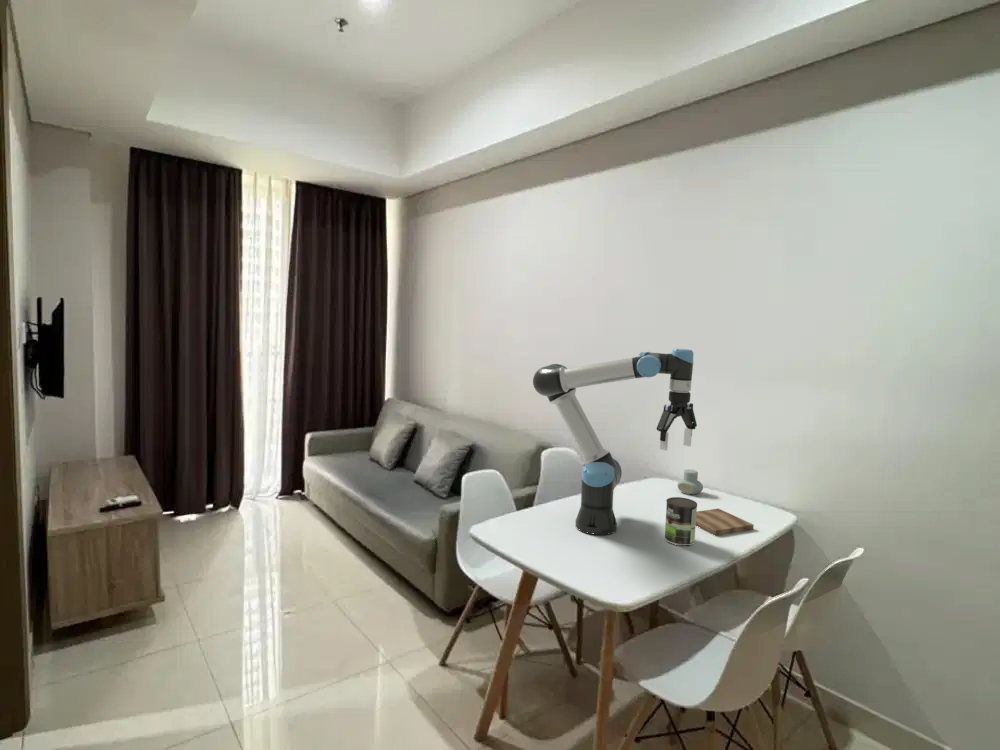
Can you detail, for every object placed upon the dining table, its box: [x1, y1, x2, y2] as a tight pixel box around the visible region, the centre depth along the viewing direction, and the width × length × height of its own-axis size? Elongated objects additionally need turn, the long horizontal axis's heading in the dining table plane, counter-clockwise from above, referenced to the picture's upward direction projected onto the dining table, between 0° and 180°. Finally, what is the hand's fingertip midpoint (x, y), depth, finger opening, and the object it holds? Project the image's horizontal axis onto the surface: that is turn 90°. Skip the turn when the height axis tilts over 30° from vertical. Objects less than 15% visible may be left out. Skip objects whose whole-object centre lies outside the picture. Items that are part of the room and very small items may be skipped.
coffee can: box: [664, 496, 698, 546], centre depth 192 cm, size 10×10×14 cm
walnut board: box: [695, 508, 754, 537], centre depth 209 cm, size 18×18×2 cm
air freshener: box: [677, 469, 704, 495], centre depth 245 cm, size 11×8×10 cm
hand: (675, 447), depth 203 cm, fingers open, 13 cm apart
